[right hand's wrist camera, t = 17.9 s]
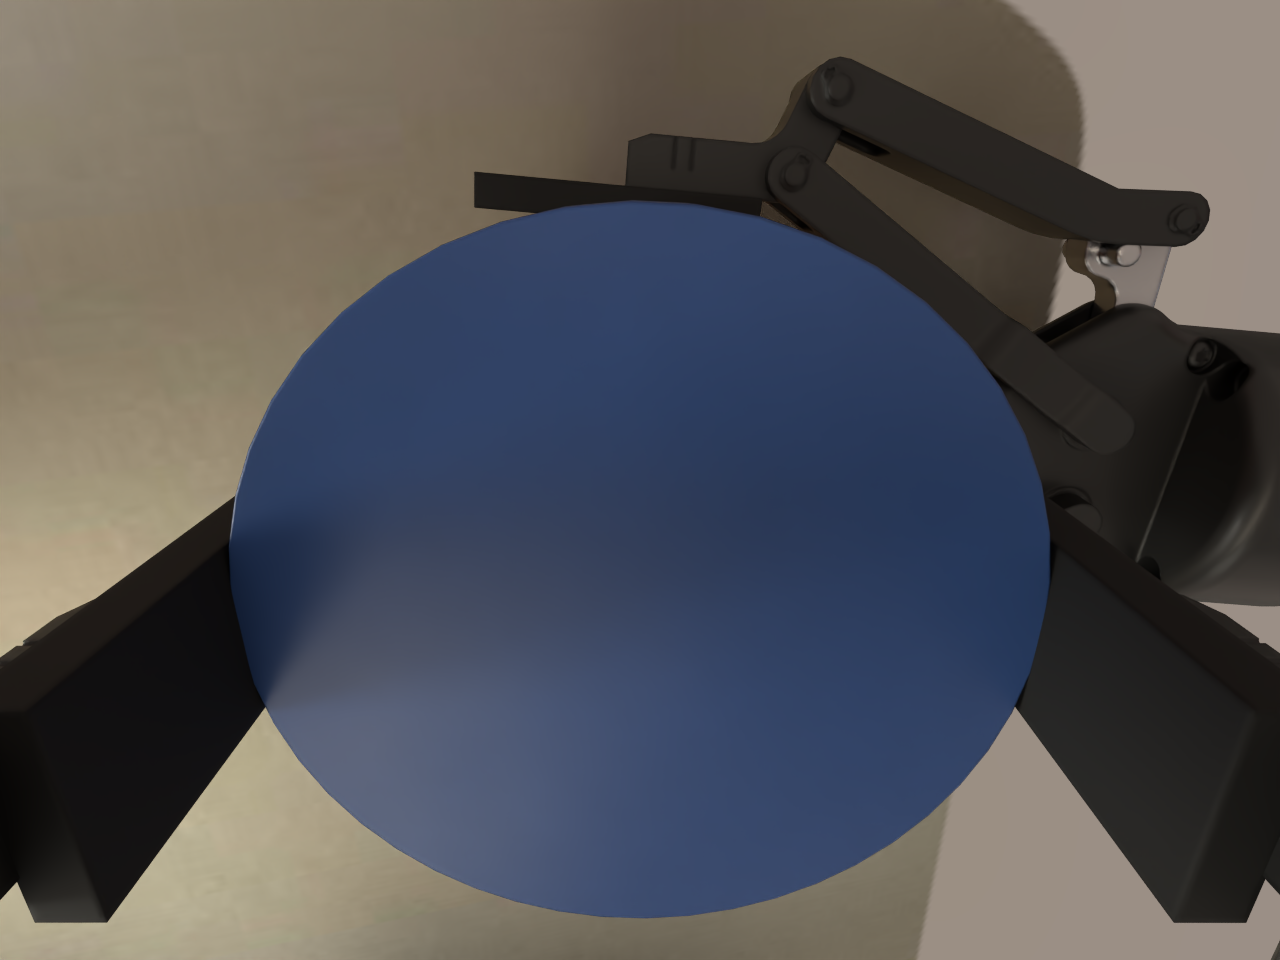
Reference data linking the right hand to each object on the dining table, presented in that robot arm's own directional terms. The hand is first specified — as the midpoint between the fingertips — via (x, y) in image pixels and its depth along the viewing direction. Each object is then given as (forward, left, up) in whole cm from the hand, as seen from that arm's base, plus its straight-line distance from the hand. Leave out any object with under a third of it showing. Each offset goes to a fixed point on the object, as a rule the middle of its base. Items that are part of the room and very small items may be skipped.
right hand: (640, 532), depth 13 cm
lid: (0, 0, +3) cm, 3 cm away
